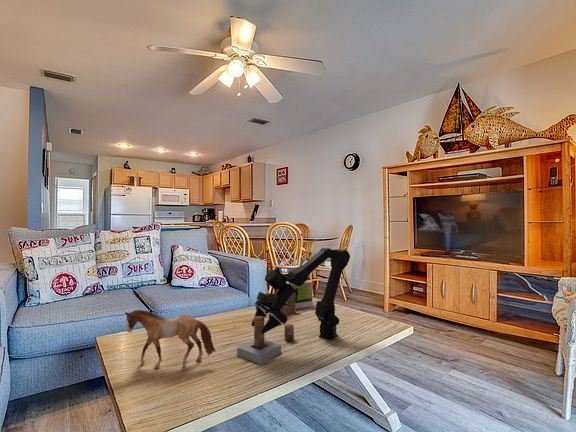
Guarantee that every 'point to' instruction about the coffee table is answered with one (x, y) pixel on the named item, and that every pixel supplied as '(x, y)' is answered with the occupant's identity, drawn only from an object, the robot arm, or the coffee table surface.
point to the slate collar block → (259, 351)
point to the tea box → (303, 295)
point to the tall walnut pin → (258, 332)
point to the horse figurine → (171, 332)
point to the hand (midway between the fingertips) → (256, 329)
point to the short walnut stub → (289, 332)
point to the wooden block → (289, 306)
